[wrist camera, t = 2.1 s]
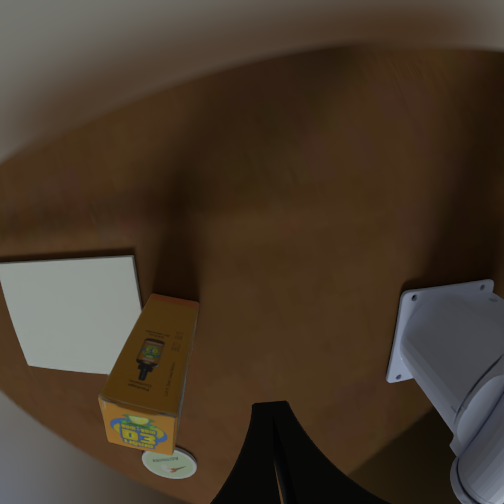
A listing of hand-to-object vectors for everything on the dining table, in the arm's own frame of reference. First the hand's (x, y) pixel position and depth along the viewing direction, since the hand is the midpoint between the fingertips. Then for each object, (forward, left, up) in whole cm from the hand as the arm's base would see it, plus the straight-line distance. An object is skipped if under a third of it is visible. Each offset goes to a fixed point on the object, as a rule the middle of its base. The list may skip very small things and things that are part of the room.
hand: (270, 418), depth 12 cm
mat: (+13, 0, -9) cm, 16 cm away
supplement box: (+5, 0, -10) cm, 11 cm away
